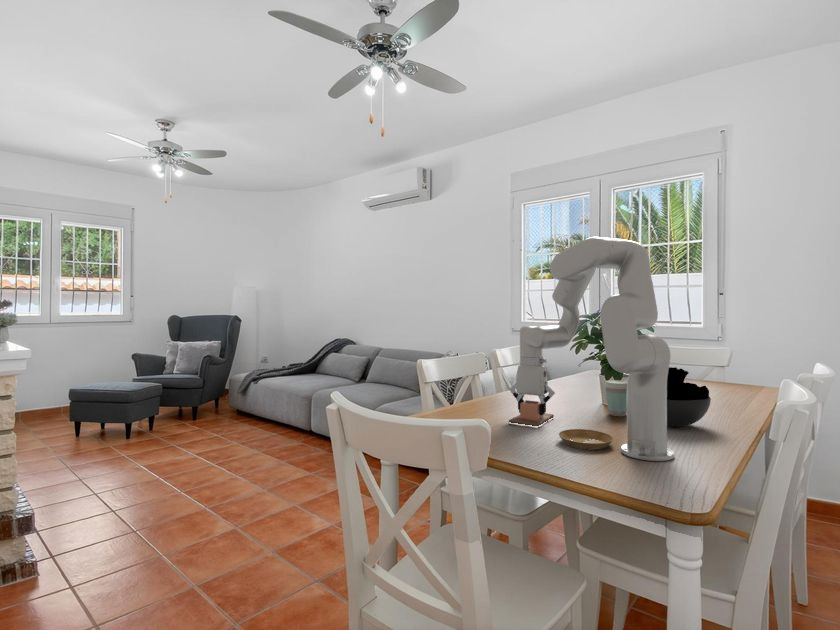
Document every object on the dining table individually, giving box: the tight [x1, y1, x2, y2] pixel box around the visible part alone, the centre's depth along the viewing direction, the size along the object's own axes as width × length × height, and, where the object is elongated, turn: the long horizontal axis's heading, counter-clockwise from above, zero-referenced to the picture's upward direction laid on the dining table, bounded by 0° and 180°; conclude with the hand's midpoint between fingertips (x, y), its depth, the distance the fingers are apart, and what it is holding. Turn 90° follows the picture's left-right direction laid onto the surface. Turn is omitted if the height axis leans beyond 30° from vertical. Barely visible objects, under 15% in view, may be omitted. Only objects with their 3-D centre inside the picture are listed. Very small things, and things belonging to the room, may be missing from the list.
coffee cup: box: [604, 379, 627, 417], centre depth 165 cm, size 8×9×12 cm
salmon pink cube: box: [519, 399, 543, 420], centre depth 157 cm, size 6×6×6 cm
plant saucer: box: [558, 428, 615, 450], centre depth 130 cm, size 15×15×3 cm
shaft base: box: [508, 412, 555, 426], centre depth 157 cm, size 16×10×5 cm, turn 145°
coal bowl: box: [667, 366, 712, 427], centre depth 149 cm, size 20×20×19 cm
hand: (531, 412), depth 157 cm, fingers open, 6 cm apart
